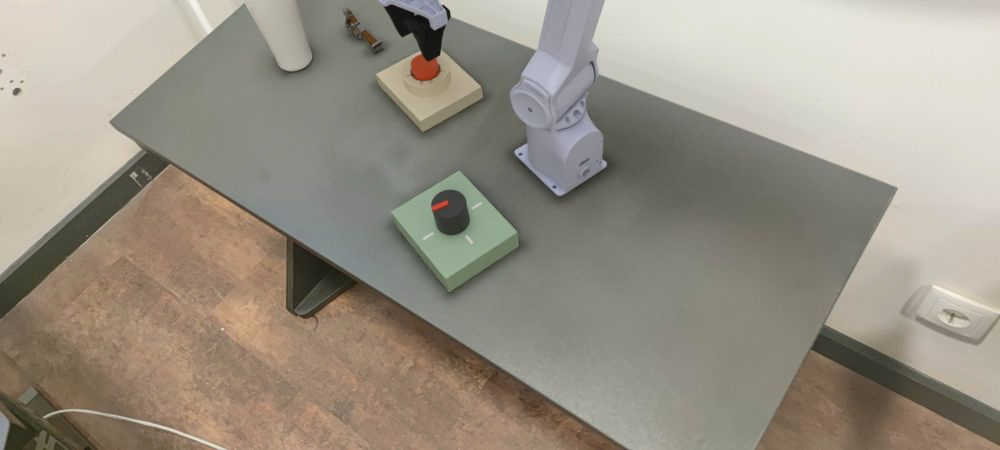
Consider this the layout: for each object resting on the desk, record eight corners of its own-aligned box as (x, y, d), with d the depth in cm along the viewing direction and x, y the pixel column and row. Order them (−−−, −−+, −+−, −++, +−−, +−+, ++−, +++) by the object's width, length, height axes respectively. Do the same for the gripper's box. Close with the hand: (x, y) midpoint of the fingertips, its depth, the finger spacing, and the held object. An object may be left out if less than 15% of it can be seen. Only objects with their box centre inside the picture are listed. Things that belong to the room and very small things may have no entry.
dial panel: (519, 246, 82) (517, 231, 80) (449, 292, 80) (445, 278, 77) (462, 185, 89) (459, 169, 86) (395, 226, 86) (390, 210, 83)
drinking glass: (273, 50, 107) (236, -36, 95) (317, 42, 107) (285, -45, 95) (273, 80, 103) (234, -6, 91) (319, 71, 103) (285, -16, 91)
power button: (443, 73, 96) (442, 63, 94) (421, 85, 95) (419, 75, 93) (429, 59, 97) (427, 49, 96) (408, 71, 96) (405, 61, 95)
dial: (461, 202, 83) (457, 182, 80) (475, 226, 81) (471, 206, 78) (430, 216, 82) (425, 196, 79) (443, 240, 80) (438, 221, 77)
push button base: (483, 98, 97) (480, 76, 94) (423, 132, 94) (417, 111, 91) (436, 54, 103) (432, 32, 100) (378, 85, 101) (372, 64, 97)
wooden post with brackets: (347, 19, 108) (348, 1, 104) (381, 56, 108) (382, 39, 104) (338, 24, 108) (338, 7, 104) (371, 62, 107) (373, 46, 103)
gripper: (340, -60, 84) (366, 31, 95) (402, -4, 76) (423, 88, 87) (390, -83, 86) (410, 9, 97) (455, -31, 78) (469, 62, 89)
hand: (419, 45), depth 92 cm, fingers open, 6 cm apart
